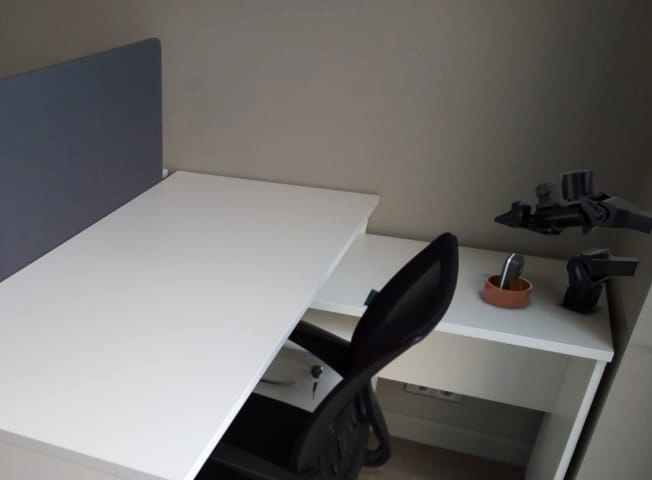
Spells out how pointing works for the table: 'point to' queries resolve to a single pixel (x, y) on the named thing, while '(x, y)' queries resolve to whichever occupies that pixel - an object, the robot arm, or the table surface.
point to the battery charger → (511, 270)
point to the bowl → (507, 292)
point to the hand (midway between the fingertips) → (505, 222)
